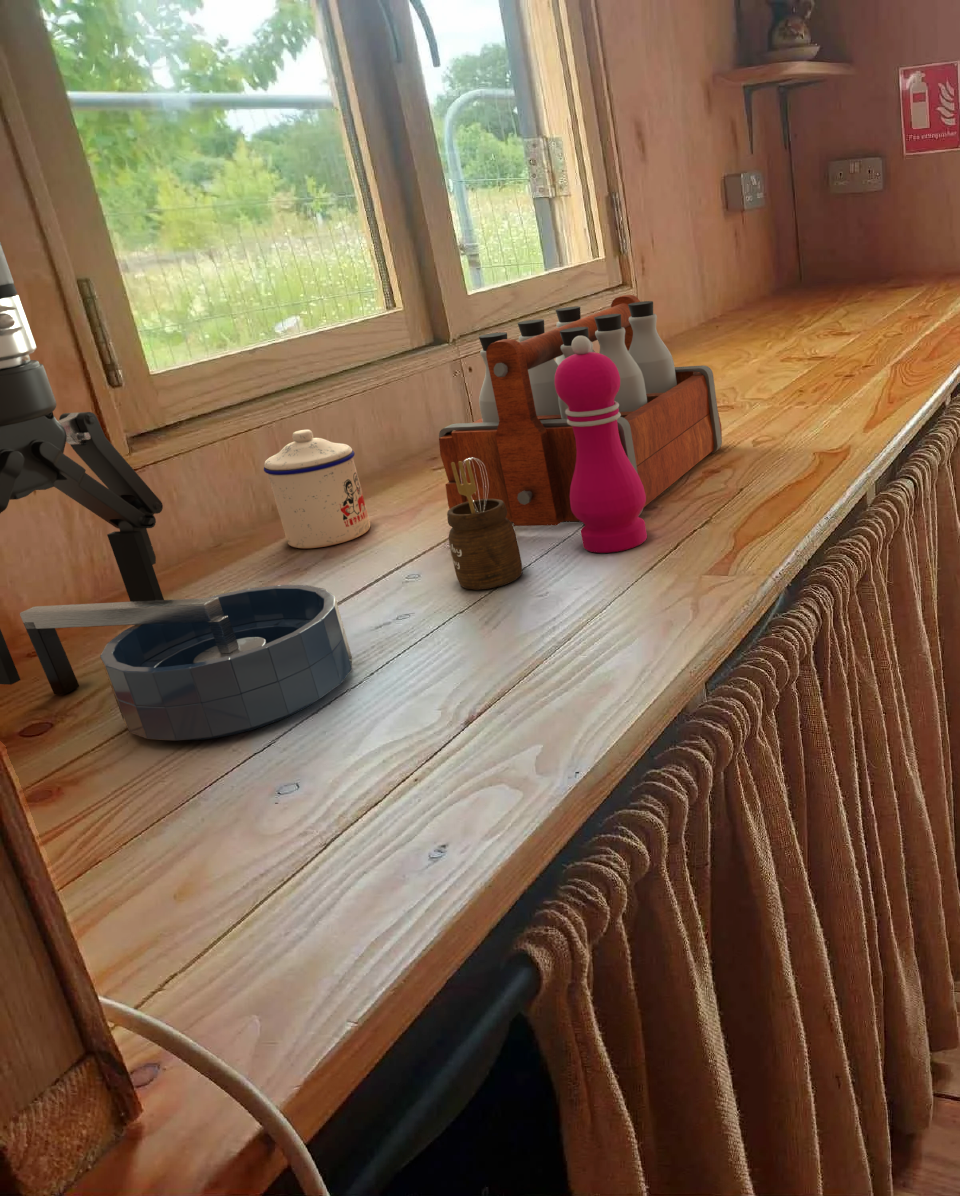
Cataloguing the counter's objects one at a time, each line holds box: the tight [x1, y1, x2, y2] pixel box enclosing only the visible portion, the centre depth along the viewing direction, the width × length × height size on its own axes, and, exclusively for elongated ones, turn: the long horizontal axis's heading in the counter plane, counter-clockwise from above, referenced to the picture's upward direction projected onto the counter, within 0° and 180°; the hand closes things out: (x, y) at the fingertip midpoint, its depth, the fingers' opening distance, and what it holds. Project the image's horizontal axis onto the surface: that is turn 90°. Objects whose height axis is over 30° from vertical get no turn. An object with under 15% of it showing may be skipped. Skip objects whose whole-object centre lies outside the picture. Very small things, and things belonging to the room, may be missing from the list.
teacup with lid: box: [263, 429, 371, 549], centre depth 121 cm, size 12×9×12 cm
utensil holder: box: [446, 458, 523, 591], centre depth 101 cm, size 6×6×12 cm
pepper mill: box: [555, 336, 648, 554], centre depth 106 cm, size 7×7×20 cm
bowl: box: [99, 584, 353, 741], centre depth 83 cm, size 16×16×6 cm
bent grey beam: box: [19, 597, 267, 695], centre depth 85 cm, size 20×5×7 cm, turn 74°
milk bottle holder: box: [438, 294, 723, 527], centre depth 127 cm, size 21×35×19 cm, turn 165°
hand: (81, 642), depth 86 cm, fingers open, 13 cm apart
